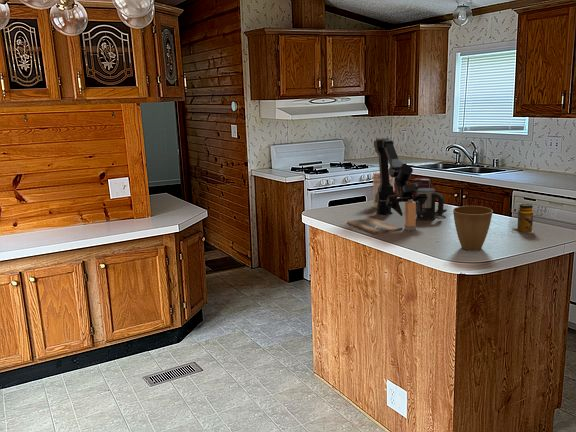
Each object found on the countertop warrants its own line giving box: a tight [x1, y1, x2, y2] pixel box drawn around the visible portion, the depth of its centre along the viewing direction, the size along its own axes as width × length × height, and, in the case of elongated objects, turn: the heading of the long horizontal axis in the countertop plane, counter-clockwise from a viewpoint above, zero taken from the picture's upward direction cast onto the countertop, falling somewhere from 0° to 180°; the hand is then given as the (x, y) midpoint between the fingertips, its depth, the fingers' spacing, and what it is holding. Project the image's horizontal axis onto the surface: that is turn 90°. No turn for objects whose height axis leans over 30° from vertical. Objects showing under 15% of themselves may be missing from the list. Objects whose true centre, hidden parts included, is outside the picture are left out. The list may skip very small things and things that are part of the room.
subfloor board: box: [346, 217, 403, 235], centre depth 258 cm, size 15×25×1 cm, turn 24°
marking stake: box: [404, 199, 417, 232], centre depth 248 cm, size 4×4×14 cm
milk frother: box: [416, 187, 448, 221], centre depth 270 cm, size 14×16×15 cm
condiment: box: [511, 203, 534, 234], centre depth 237 cm, size 7×8×12 cm
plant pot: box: [452, 205, 494, 251], centre depth 214 cm, size 15×15×16 cm
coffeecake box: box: [372, 170, 395, 209], centre depth 302 cm, size 15×7×20 cm, turn 147°
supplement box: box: [412, 178, 431, 209], centre depth 292 cm, size 9×5×16 cm, turn 65°
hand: (411, 214), depth 247 cm, fingers open, 9 cm apart
